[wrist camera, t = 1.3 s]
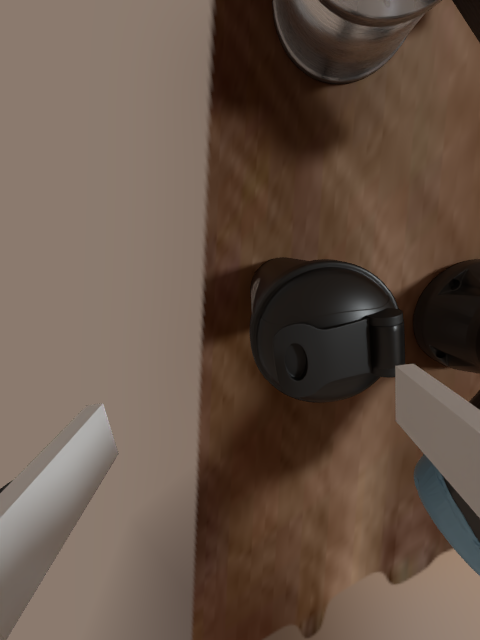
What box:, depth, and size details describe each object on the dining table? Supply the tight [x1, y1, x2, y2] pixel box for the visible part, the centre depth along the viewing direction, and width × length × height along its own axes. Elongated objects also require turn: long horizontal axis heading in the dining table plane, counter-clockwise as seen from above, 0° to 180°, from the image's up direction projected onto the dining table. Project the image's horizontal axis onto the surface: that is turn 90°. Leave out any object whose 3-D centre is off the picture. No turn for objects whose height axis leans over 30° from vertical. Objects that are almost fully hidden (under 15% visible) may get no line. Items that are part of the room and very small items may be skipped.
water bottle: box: [250, 257, 405, 402], centre depth 27 cm, size 10×10×23 cm
